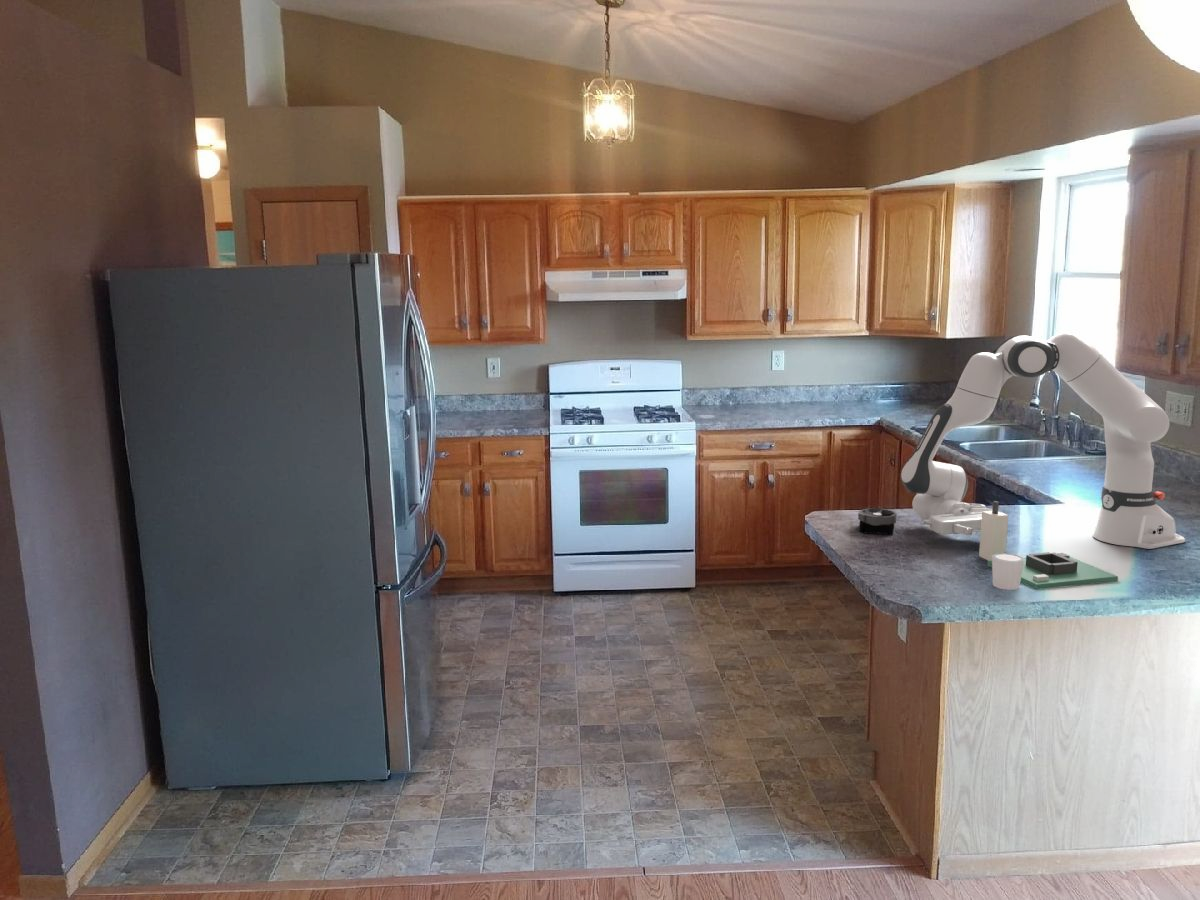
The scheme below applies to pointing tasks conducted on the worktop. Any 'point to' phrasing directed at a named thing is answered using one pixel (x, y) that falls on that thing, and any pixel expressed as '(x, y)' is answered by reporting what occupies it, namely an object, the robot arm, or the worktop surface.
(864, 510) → the cpu cooler
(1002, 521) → the plug
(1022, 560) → the white cup
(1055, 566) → the circuit board
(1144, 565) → the worktop surface
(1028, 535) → the worktop surface
